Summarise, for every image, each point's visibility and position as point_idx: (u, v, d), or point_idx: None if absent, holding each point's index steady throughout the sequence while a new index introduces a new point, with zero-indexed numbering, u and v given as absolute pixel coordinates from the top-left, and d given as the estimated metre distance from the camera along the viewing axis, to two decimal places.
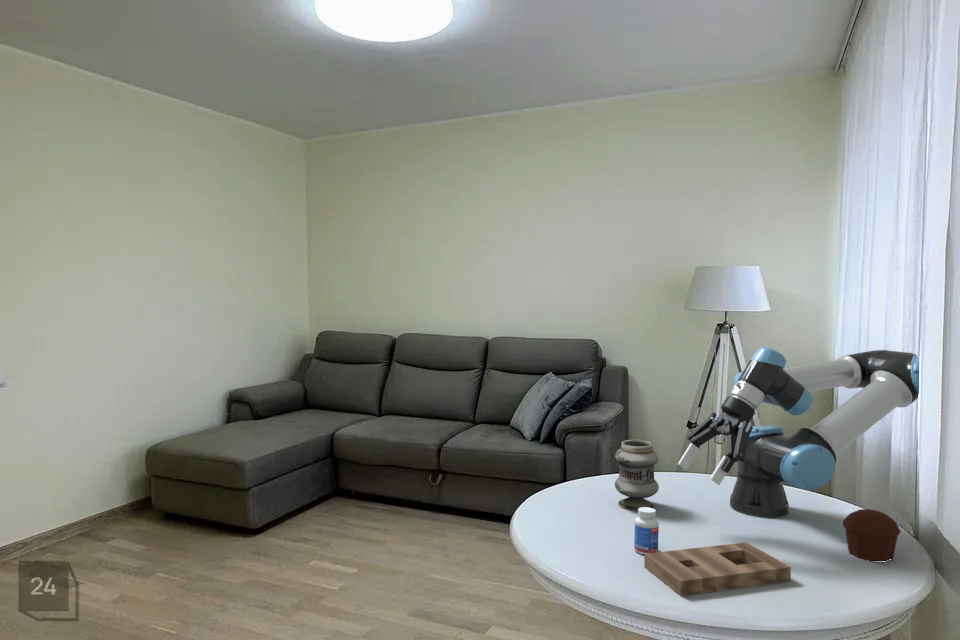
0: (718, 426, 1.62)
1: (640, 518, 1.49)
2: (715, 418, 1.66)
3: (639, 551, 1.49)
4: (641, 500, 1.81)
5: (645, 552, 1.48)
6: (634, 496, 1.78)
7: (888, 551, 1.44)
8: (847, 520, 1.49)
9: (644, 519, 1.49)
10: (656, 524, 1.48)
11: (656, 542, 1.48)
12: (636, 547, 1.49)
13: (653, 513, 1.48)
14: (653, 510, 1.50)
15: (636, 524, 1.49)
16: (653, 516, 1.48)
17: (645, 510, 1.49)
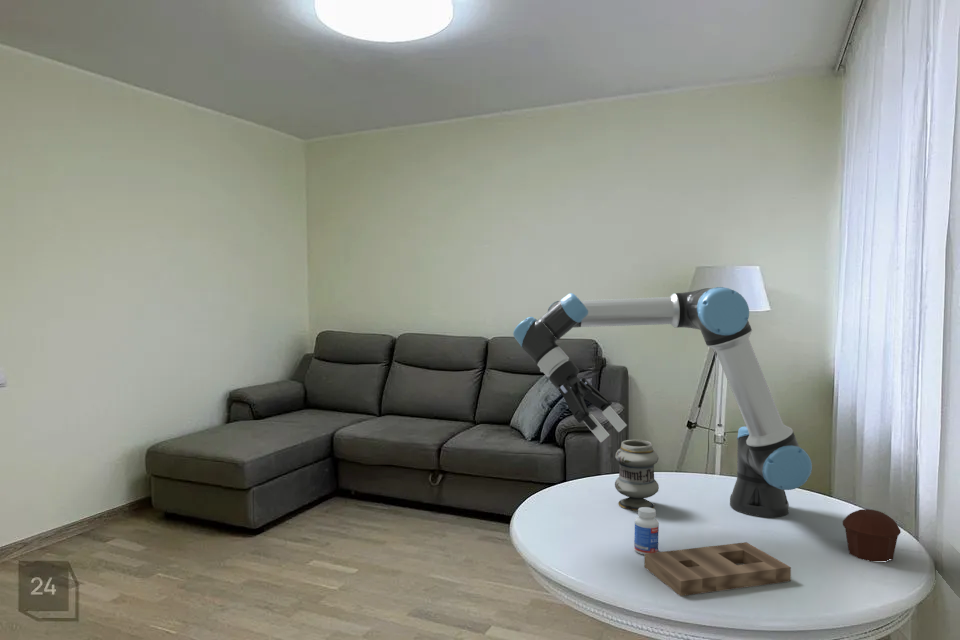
0: None
1: (640, 518, 1.49)
2: None
3: (639, 551, 1.49)
4: (641, 500, 1.81)
5: (645, 552, 1.48)
6: (634, 496, 1.78)
7: (888, 551, 1.44)
8: (847, 520, 1.49)
9: (644, 519, 1.49)
10: (656, 524, 1.48)
11: (656, 542, 1.48)
12: (636, 547, 1.49)
13: (653, 513, 1.48)
14: (653, 510, 1.50)
15: (636, 524, 1.49)
16: (653, 516, 1.48)
17: (645, 510, 1.49)
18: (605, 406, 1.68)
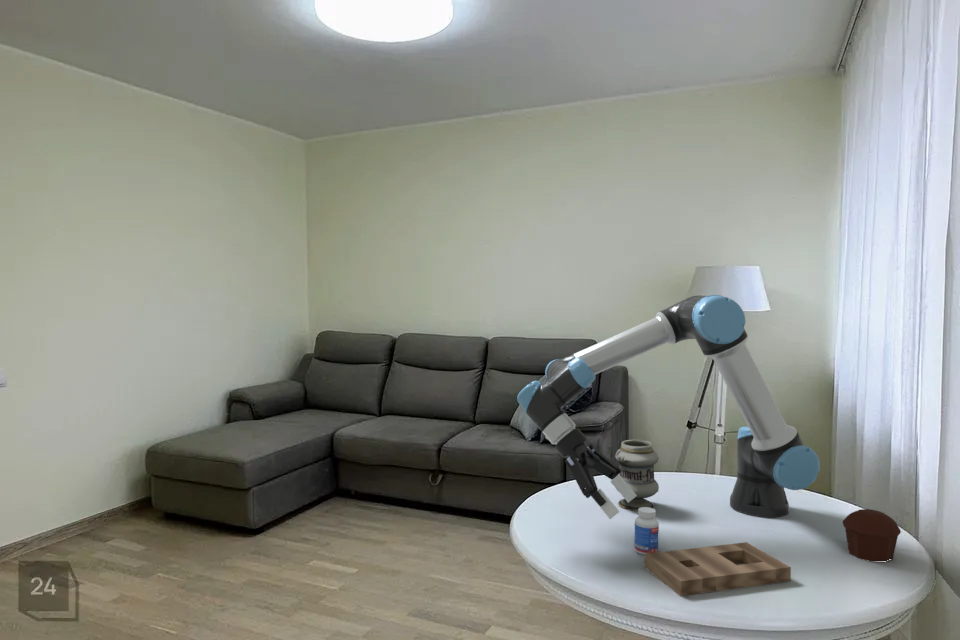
0: None
1: (640, 518, 1.49)
2: None
3: (639, 551, 1.49)
4: (641, 500, 1.81)
5: (645, 552, 1.48)
6: None
7: (888, 551, 1.44)
8: (847, 520, 1.49)
9: (644, 519, 1.49)
10: (656, 524, 1.48)
11: (656, 542, 1.48)
12: (636, 547, 1.49)
13: (653, 513, 1.48)
14: (653, 510, 1.50)
15: (636, 524, 1.49)
16: (653, 516, 1.48)
17: (645, 510, 1.49)
18: (614, 474, 1.60)
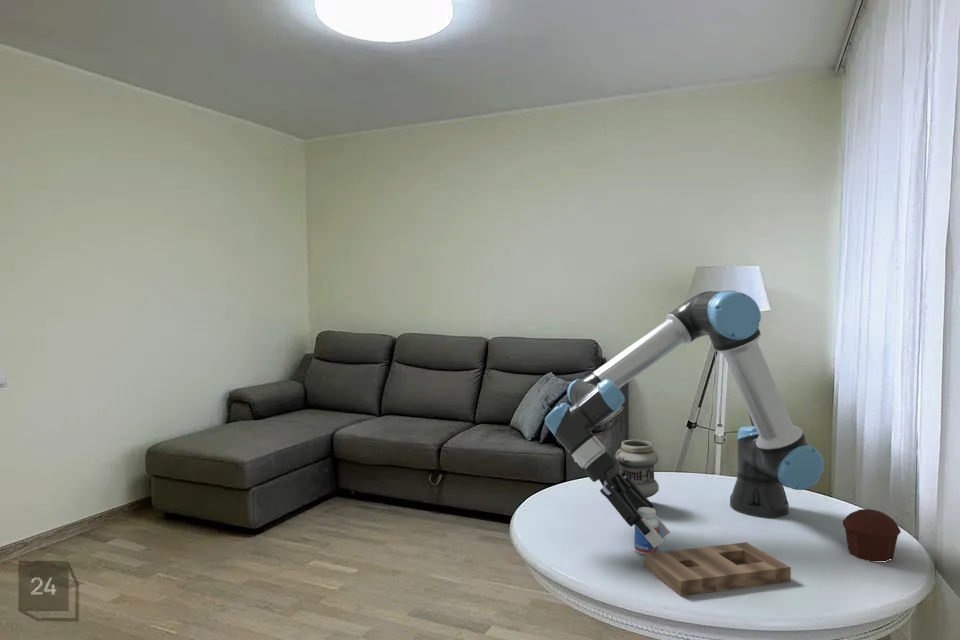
0: None
1: None
2: None
3: (639, 551, 1.49)
4: None
5: (645, 552, 1.48)
6: None
7: (888, 551, 1.44)
8: (847, 520, 1.49)
9: None
10: (656, 524, 1.48)
11: None
12: (636, 547, 1.49)
13: (653, 513, 1.48)
14: (653, 510, 1.50)
15: None
16: (653, 516, 1.48)
17: (645, 510, 1.49)
18: None
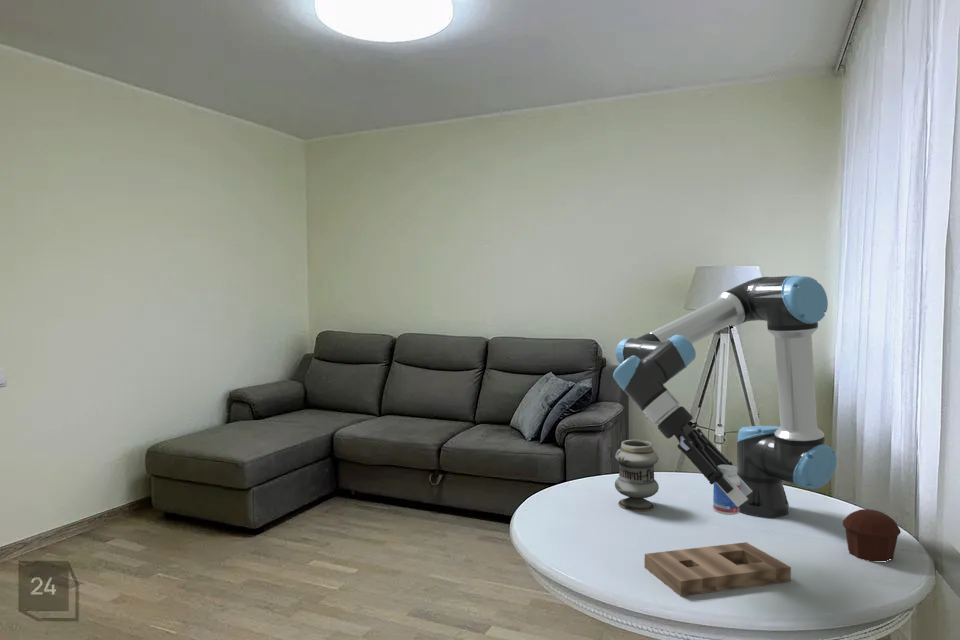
0: None
1: None
2: None
3: (719, 511, 1.38)
4: (641, 500, 1.81)
5: (726, 512, 1.38)
6: (634, 496, 1.78)
7: (888, 551, 1.44)
8: (847, 520, 1.49)
9: None
10: (738, 482, 1.38)
11: None
12: (716, 507, 1.39)
13: (735, 470, 1.38)
14: (734, 467, 1.39)
15: None
16: (735, 473, 1.38)
17: (726, 467, 1.39)
18: None
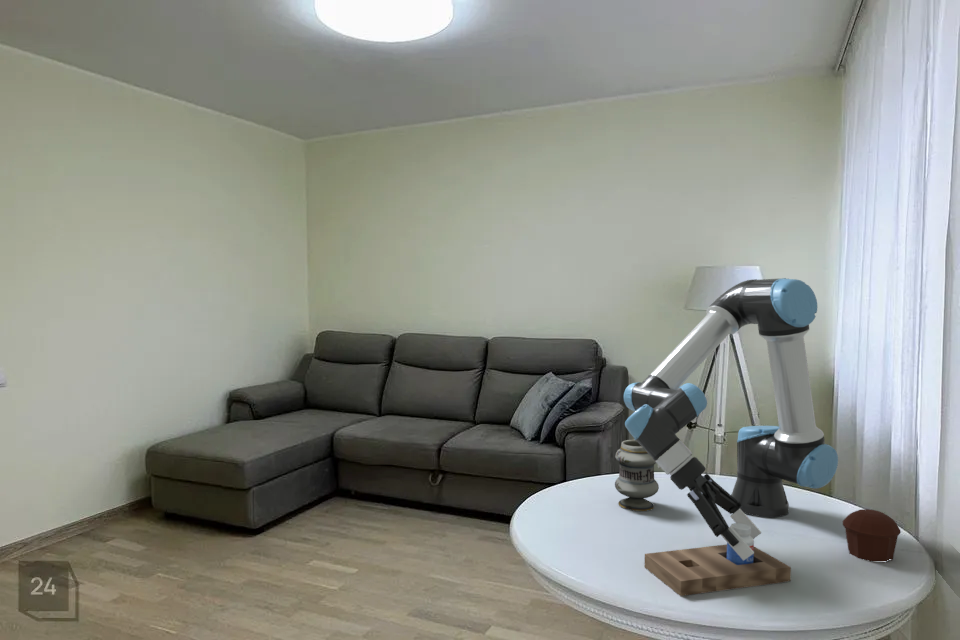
0: None
1: None
2: None
3: None
4: (641, 500, 1.81)
5: None
6: (634, 496, 1.78)
7: (888, 551, 1.44)
8: (847, 520, 1.49)
9: None
10: (752, 542, 1.38)
11: (752, 561, 1.38)
12: None
13: (748, 530, 1.38)
14: (748, 527, 1.39)
15: None
16: (748, 533, 1.38)
17: (740, 527, 1.39)
18: (734, 508, 1.46)
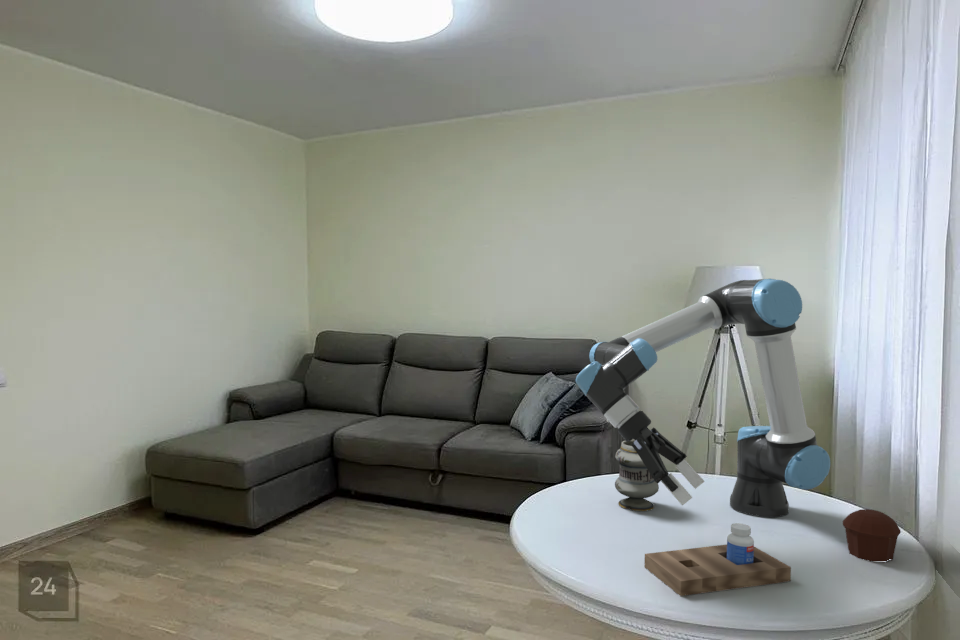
0: None
1: (734, 535, 1.39)
2: None
3: None
4: (641, 500, 1.81)
5: None
6: (634, 496, 1.78)
7: (888, 551, 1.44)
8: (847, 520, 1.49)
9: (738, 536, 1.38)
10: (752, 543, 1.37)
11: (752, 561, 1.38)
12: None
13: (748, 530, 1.38)
14: (748, 527, 1.39)
15: (729, 542, 1.39)
16: (748, 533, 1.38)
17: (740, 527, 1.39)
18: (679, 459, 1.52)
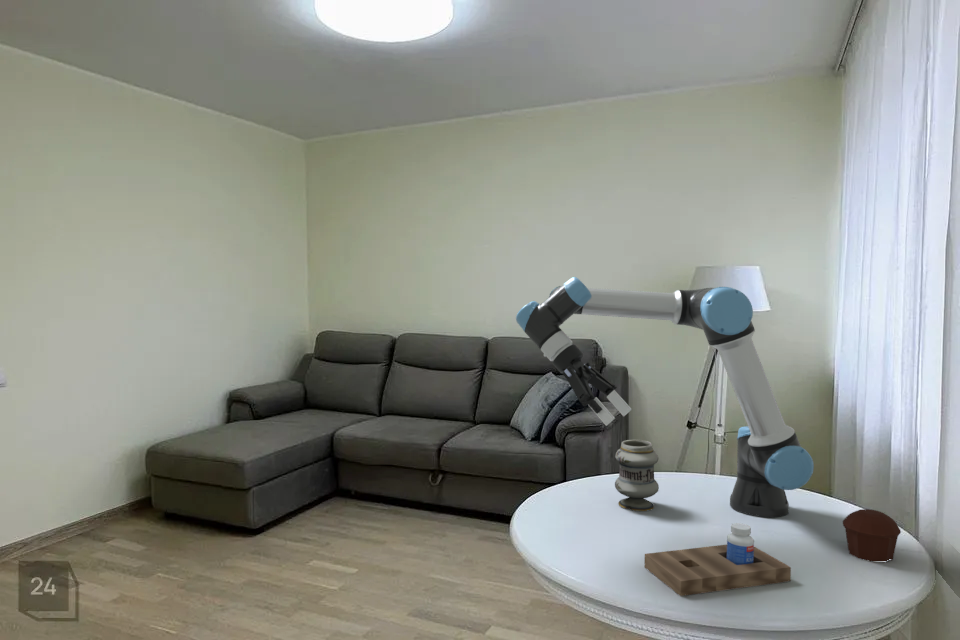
0: None
1: (734, 535, 1.39)
2: None
3: None
4: (641, 500, 1.81)
5: None
6: (634, 496, 1.78)
7: (888, 551, 1.44)
8: (847, 520, 1.49)
9: (738, 536, 1.38)
10: (752, 542, 1.37)
11: (752, 561, 1.38)
12: None
13: (748, 530, 1.38)
14: (748, 527, 1.39)
15: (729, 542, 1.39)
16: (748, 533, 1.38)
17: (740, 527, 1.39)
18: (610, 390, 1.66)
